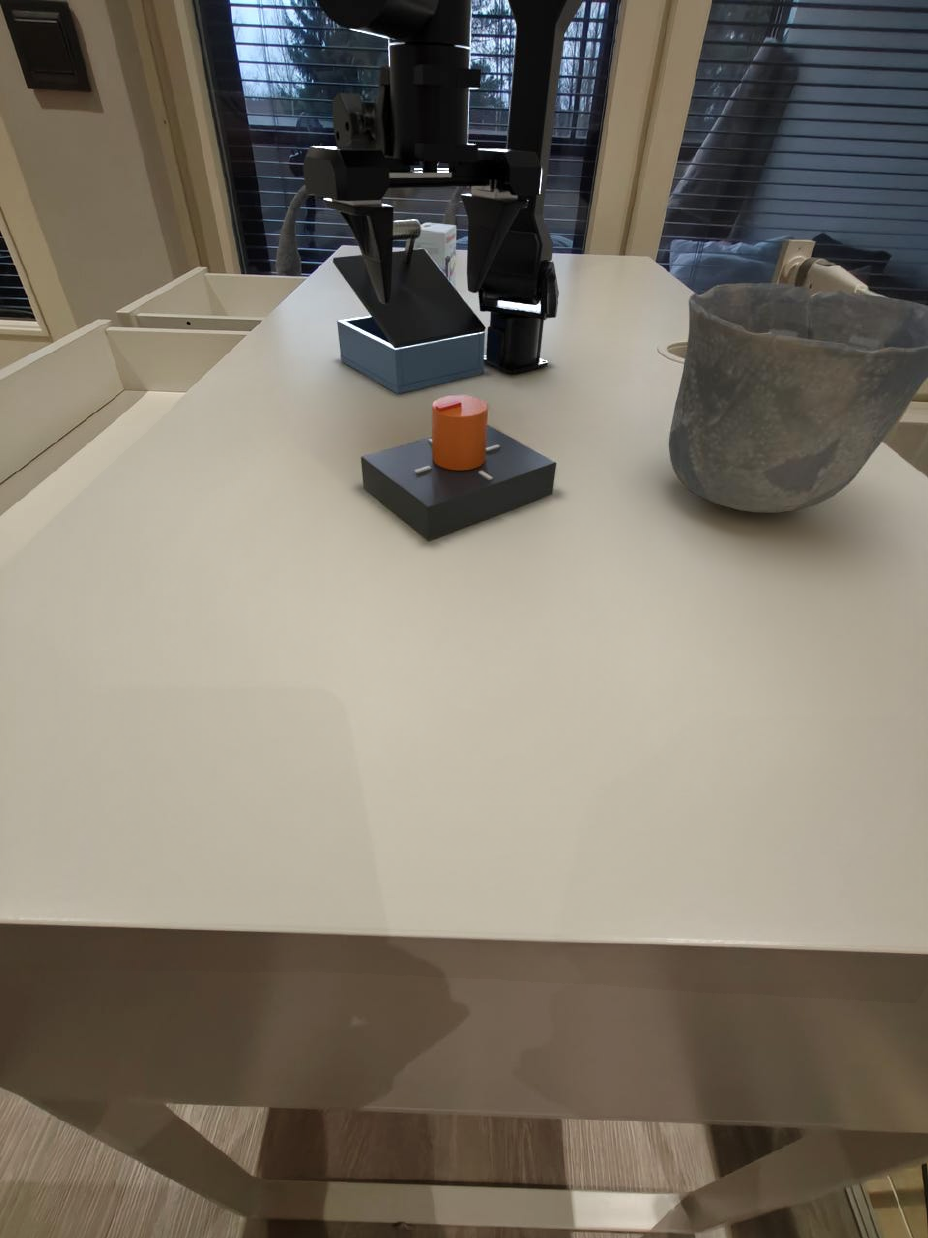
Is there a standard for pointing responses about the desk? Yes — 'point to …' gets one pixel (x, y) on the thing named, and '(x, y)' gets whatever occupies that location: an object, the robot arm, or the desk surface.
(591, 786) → the desk surface
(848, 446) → the grey stone pot
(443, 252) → the ink box
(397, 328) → the lid
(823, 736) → the desk surface
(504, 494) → the control panel
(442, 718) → the desk surface
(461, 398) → the dial
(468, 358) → the blue open box
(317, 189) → the robot arm
